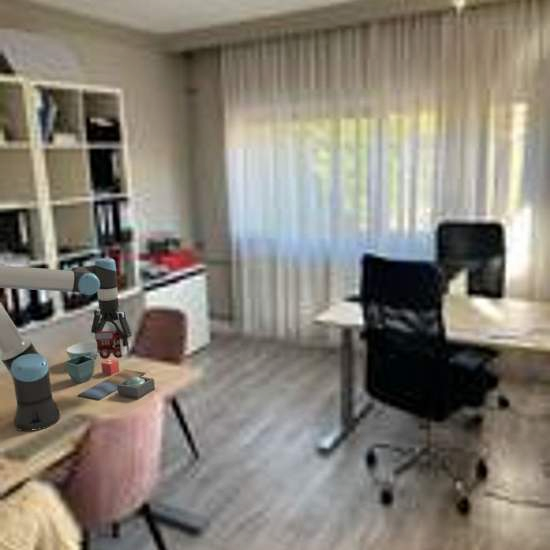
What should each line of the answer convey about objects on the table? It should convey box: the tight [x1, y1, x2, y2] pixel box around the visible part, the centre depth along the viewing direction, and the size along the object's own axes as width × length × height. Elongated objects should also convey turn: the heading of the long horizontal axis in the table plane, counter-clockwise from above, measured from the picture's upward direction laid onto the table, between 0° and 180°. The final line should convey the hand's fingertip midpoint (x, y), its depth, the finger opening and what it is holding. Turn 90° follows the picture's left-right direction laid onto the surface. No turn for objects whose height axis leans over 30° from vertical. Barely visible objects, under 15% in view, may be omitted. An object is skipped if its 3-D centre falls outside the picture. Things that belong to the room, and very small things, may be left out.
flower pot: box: [64, 356, 95, 384], centre depth 242 cm, size 9×9×9 cm
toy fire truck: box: [94, 329, 130, 360], centre depth 229 cm, size 7×12×10 cm, turn 99°
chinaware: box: [66, 341, 100, 362], centre depth 262 cm, size 15×15×8 cm
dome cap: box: [126, 377, 145, 387], centre depth 227 cm, size 7×7×5 cm
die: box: [100, 358, 120, 376], centre depth 249 cm, size 5×5×5 cm
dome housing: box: [117, 376, 156, 400], centre depth 227 cm, size 10×10×4 cm
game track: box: [77, 369, 146, 401], centre depth 237 cm, size 28×11×1 cm, turn 154°
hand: (112, 352), depth 230 cm, fingers closed on toy fire truck, 11 cm apart
